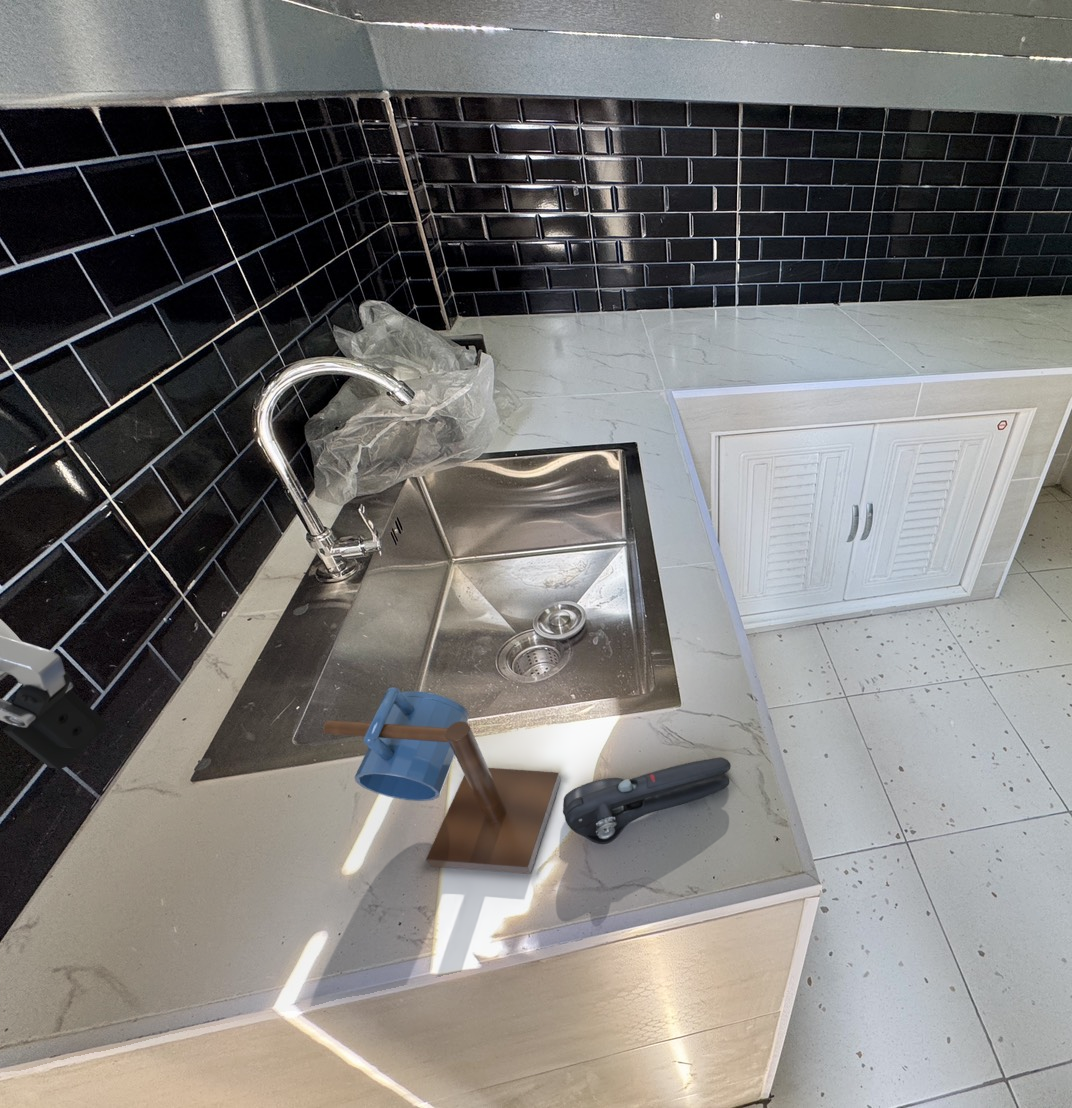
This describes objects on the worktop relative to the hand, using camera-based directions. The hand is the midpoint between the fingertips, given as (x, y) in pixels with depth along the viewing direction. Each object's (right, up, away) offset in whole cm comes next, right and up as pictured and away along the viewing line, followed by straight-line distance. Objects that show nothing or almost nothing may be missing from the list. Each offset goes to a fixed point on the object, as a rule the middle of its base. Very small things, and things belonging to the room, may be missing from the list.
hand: (5, 741), depth 37 cm
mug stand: (+17, -16, +26) cm, 35 cm away
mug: (+14, -3, +23) cm, 27 cm away
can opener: (+36, -15, +27) cm, 48 cm away
